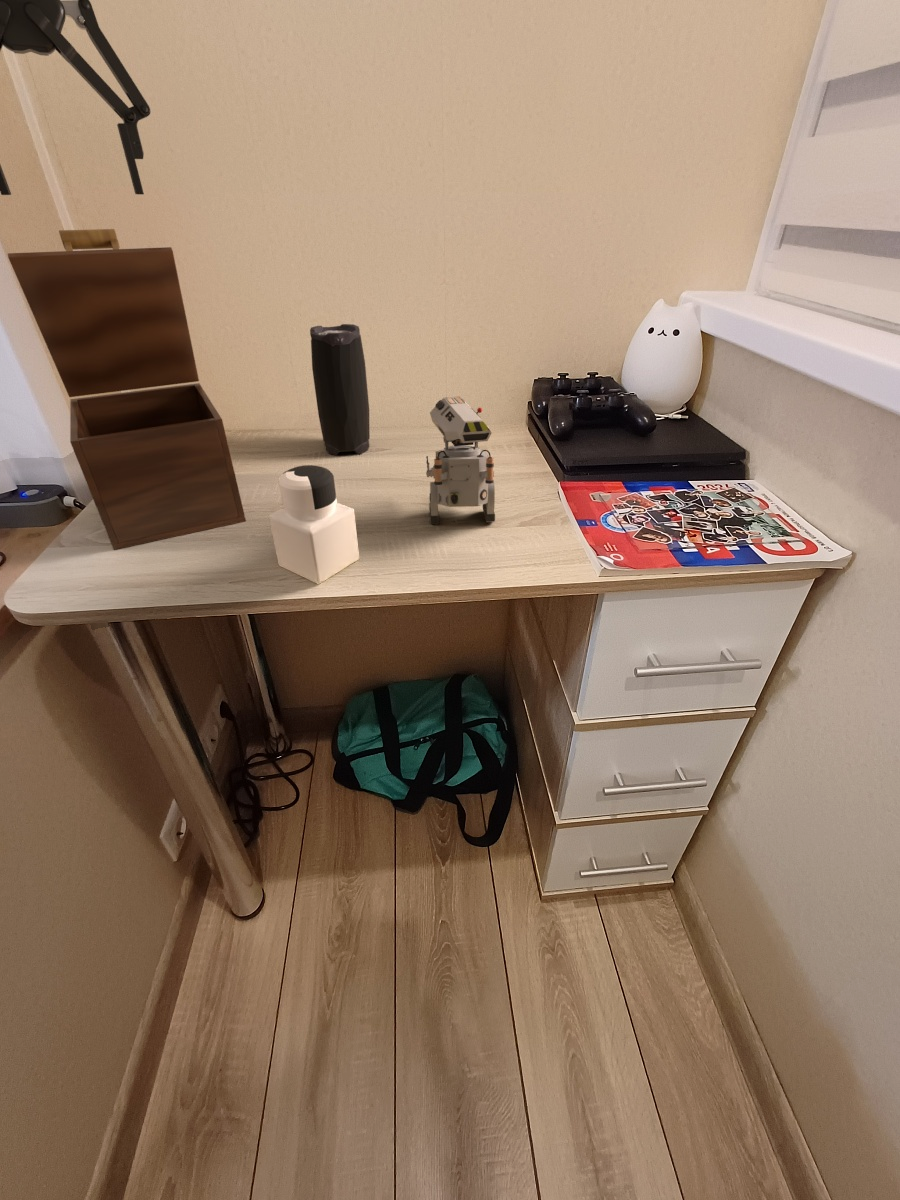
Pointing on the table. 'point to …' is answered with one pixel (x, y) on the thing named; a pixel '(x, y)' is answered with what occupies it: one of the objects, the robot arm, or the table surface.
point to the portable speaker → (341, 387)
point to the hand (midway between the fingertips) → (75, 195)
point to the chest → (155, 463)
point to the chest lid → (108, 313)
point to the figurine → (461, 460)
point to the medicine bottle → (313, 525)
